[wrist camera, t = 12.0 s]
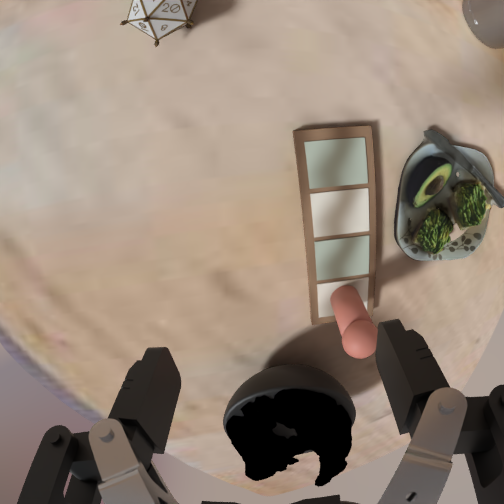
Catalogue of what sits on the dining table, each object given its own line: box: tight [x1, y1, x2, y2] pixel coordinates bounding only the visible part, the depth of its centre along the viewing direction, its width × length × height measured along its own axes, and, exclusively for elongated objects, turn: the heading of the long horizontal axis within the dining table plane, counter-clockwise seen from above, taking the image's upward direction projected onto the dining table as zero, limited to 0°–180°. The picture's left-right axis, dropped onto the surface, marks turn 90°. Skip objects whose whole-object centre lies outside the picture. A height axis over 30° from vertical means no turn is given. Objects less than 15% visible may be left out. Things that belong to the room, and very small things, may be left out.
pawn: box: [330, 285, 378, 359], centre depth 35 cm, size 4×4×11 cm
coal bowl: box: [223, 364, 356, 486], centre depth 41 cm, size 20×20×19 cm
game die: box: [120, 0, 198, 47], centre depth 24 cm, size 9×8×10 cm
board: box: [293, 125, 376, 325], centre depth 37 cm, size 9×26×2 cm, turn 9°
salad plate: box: [394, 129, 504, 261], centre depth 34 cm, size 19×18×5 cm
